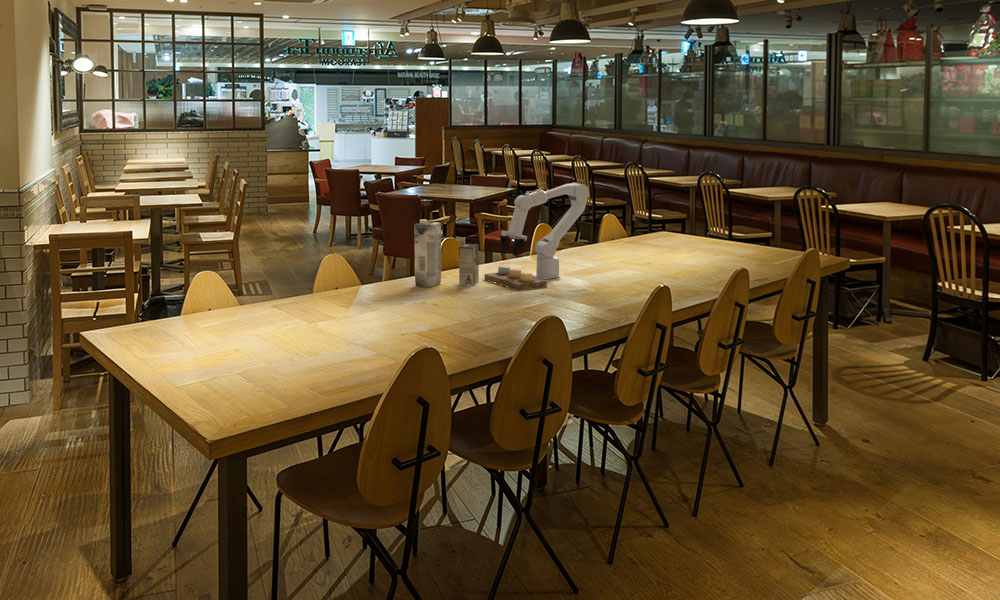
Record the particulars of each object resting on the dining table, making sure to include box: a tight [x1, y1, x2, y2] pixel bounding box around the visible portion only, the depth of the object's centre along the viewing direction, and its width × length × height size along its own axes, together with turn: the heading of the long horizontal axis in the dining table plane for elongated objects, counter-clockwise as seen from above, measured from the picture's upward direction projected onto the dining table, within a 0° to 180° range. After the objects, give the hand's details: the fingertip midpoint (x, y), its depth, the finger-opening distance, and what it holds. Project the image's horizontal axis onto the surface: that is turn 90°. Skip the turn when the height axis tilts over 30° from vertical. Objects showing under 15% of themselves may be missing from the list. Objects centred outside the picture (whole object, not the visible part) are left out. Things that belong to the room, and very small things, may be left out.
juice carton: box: [413, 218, 442, 288], centre depth 360 cm, size 9×10×27 cm
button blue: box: [497, 265, 511, 276], centre depth 374 cm, size 5×5×3 cm
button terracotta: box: [509, 268, 522, 279], centre depth 367 cm, size 5×5×3 cm
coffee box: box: [458, 243, 480, 287], centre depth 365 cm, size 9×6×16 cm
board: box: [483, 271, 548, 291], centre depth 368 cm, size 14×26×2 cm, turn 32°
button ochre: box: [520, 271, 534, 283], centre depth 360 cm, size 5×5×3 cm
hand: (509, 254), depth 373 cm, fingers open, 7 cm apart
